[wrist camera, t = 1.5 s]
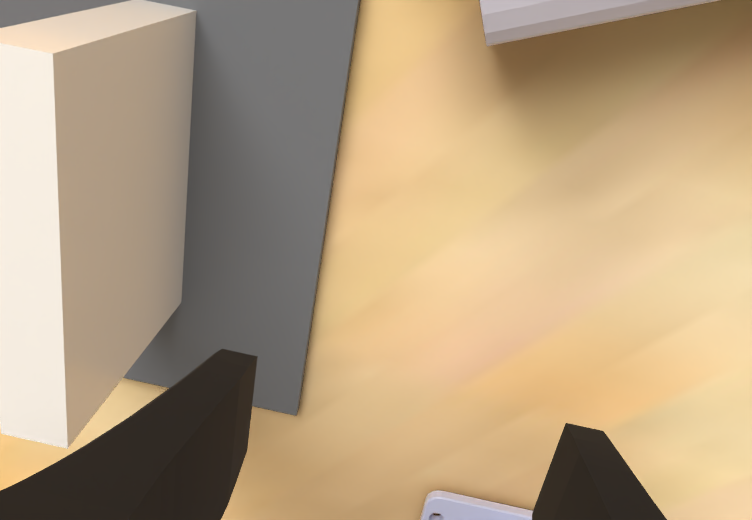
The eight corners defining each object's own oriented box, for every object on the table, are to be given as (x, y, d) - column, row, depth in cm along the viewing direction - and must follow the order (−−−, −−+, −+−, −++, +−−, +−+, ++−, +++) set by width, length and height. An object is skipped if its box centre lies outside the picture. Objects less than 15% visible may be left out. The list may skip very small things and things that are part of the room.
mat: (298, 408, 24) (296, 415, 24) (-88, 323, 25) (-96, 329, 24) (363, -21, 18) (360, -20, 18) (-155, -122, 18) (-167, -123, 18)
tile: (181, 302, 22) (67, 448, 16) (128, 290, 22) (-6, 432, 16) (196, 10, 18) (52, 53, 12) (131, -3, 18) (-45, 34, 12)
